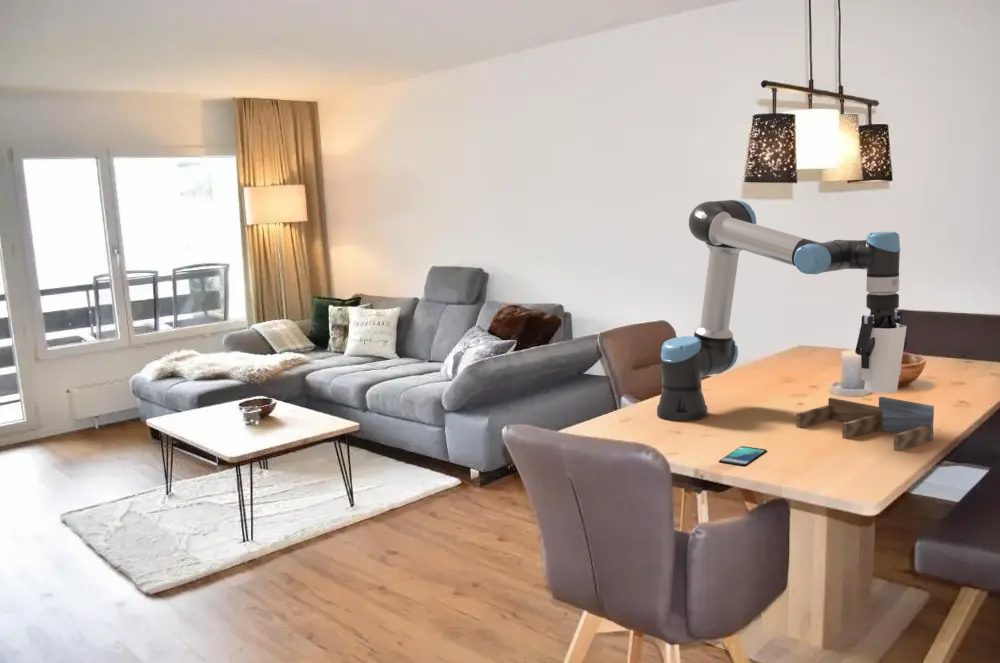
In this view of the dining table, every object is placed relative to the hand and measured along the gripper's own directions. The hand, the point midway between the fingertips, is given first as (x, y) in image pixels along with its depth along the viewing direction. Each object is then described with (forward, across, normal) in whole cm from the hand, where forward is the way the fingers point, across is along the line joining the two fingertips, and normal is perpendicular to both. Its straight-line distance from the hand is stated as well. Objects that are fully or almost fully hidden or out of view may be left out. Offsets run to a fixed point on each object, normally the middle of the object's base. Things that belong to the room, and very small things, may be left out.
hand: (881, 377), depth 212 cm
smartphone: (+18, -36, +14) cm, 42 cm away
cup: (+4, 0, 0) cm, 4 cm away
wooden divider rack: (+17, +3, +8) cm, 19 cm away
